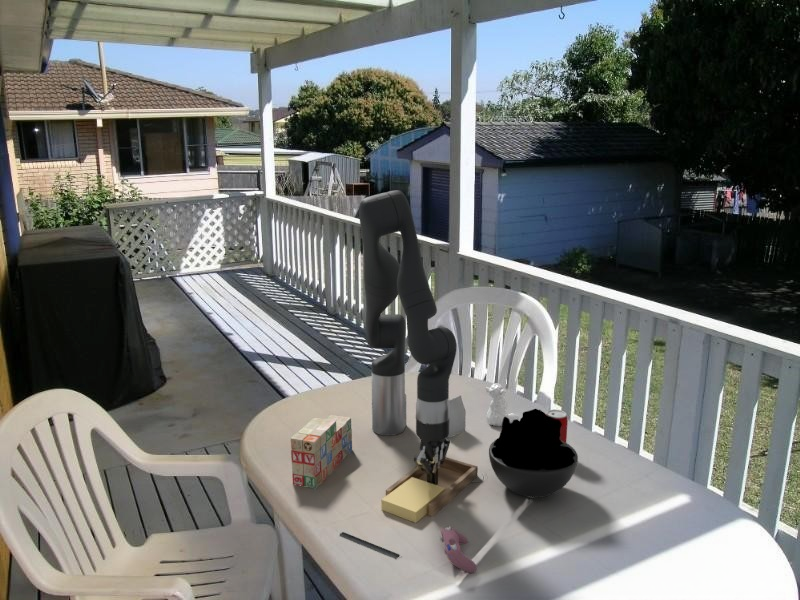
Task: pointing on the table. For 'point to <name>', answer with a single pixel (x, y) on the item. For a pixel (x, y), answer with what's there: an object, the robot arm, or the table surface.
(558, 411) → the soda can
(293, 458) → the stack of blocks
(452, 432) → the grey gabled house block
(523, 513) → the table surface
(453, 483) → the walnut box
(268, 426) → the table surface
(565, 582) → the table surface
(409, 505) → the cover plate
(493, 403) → the sitting furry creature
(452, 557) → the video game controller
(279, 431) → the table surface
